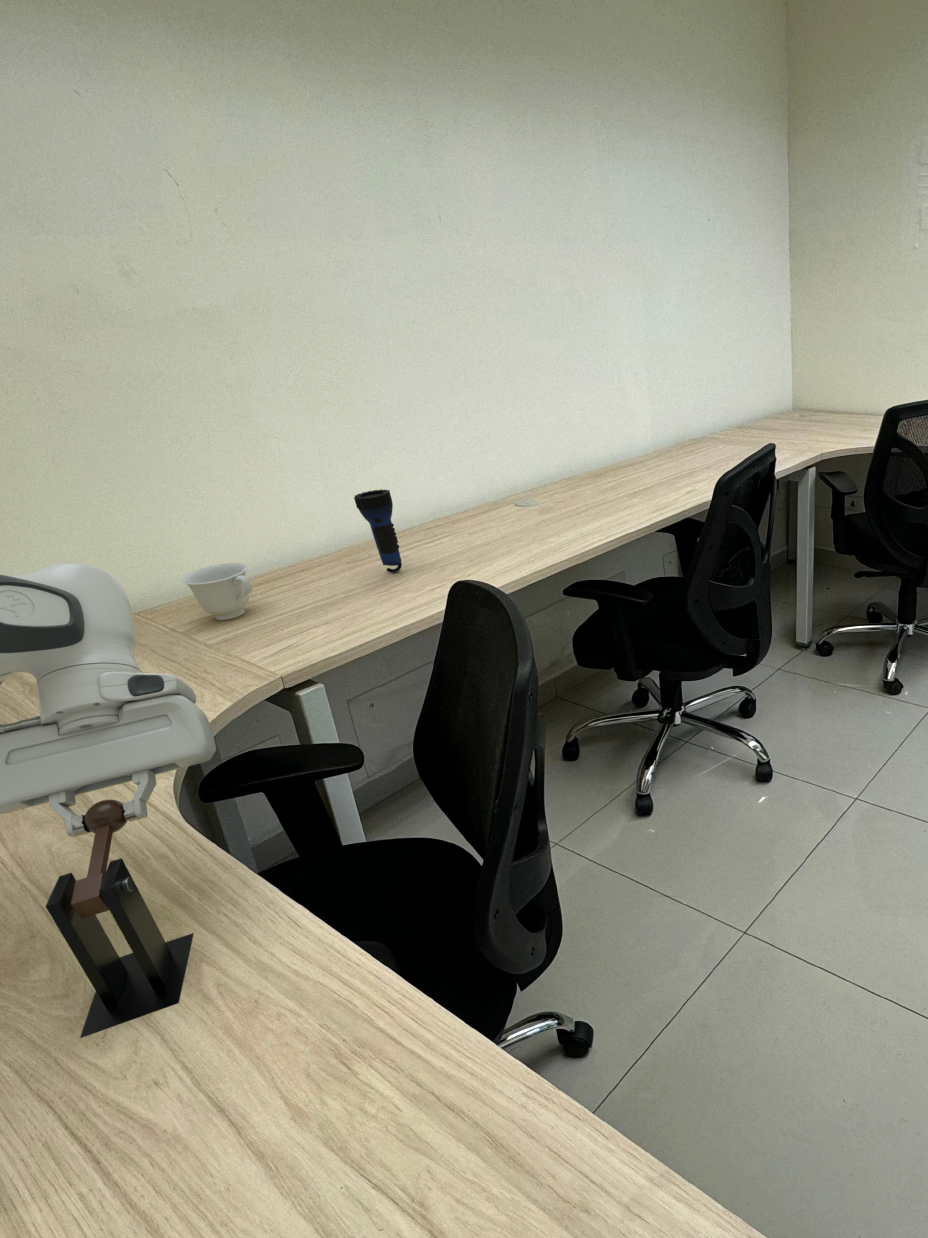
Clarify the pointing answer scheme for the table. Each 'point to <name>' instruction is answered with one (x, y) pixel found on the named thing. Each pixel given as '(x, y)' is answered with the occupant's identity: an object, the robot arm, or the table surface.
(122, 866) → the bracket
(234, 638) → the table surface
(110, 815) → the lever
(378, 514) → the flashlight
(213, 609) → the teacup
